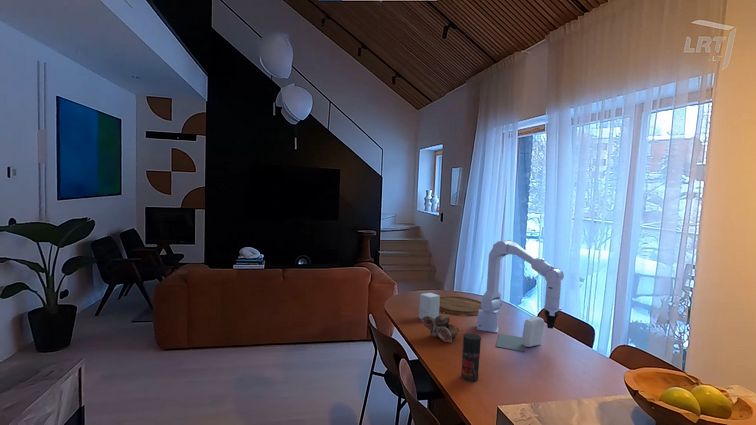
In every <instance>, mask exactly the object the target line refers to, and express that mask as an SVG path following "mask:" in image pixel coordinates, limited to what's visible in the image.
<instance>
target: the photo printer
mask: <svg viewBox="0 0 756 425" xmlns="http://www.w3.org/2000/svg"><path fill="white" fill-rule="evenodd" d="M544 328H545V320H544V319H543V318H542V317H540V316H532V317H529V318H527V319H525V320H524V323H523V328H522V329H523V330H522V336H521V337H522V345H524V346H525V348H526V347H527V348H528V347H529V348H530V347H535V346H536V347H537V346H539V345H542V341H543V334H544Z"/></svg>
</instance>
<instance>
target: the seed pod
mask: <svg viewBox="0 0 756 425" xmlns="http://www.w3.org/2000/svg"><path fill="white" fill-rule="evenodd" d="M420 320H421V322H422V324H423V326H424V327H425V328H426V329H428V330H429V333H430V335H431V336H432V337H434V338H438V337H439V339H441V340H442V341H443V342H444V343H450V344H452V342H453V339H454V338H456V337H457V336H458V333H459V331H460V329H459V328H458V326H456V325H453V324H450V322H451V319H450V316H449V314H447V313H443V314H439V316H437V317H436V318H435V319H434V318H432V317H429V316H426V317H424V318H423V319H420Z"/></svg>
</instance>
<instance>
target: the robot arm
mask: <svg viewBox="0 0 756 425" xmlns="http://www.w3.org/2000/svg"><path fill="white" fill-rule="evenodd" d="M508 255H516V256H517V257H519V258H521V260H523V261H525V262H526V263H528V264H530V265H531V266H530V267H531V269H533V270H534V271H535V272H536V273H538V274H540V275H541V276H542V277H543V278H544V280H545V281H546V284H545V299H544V305H543V309H544V312H543V313H544V315H545V318H546V327H547V329H550V330H551V329H554V325H555V323H556V320H557V318H558V317H559V311H562V310H563V308H562V307H560V300H561V299H560V297H561V289H562V288H561V287H562V284H561V283H562V280H564V272H563V271H562V270H561V269H560V267H555V265H551V264H549V263H548V262H546V259H545V258H540V257H537V258H536V257H534V255H532V254H531V253H529V252H528V251H527V250H525V248H523V247H522V246H520V245H519V244H518V243H516V242H515V241H513V240H512V239H508V240H499V241H497V242H496V243H494V244H492V248H491V250H490V251H489V254H488V260H487V262H488V264H487V275H486V276H487V279H486V291H485V293H484V294H483V295H482V300H480V302H481V308H482V309H483V310H479V312H478V316H477V323H476V324H477V326H476V330H478V331H484V332H490V333H496V334H498V332H499V329H500V327H499V326H498V324H499V312H500V309H501V307H502V305H503V302H502V298H501V293H500V292H499V285H500V270H501V259H503V258H504V257H506V256H508Z"/></svg>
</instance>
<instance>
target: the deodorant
mask: <svg viewBox="0 0 756 425" xmlns="http://www.w3.org/2000/svg"><path fill="white" fill-rule="evenodd" d="M462 338H463V340H462V355H461V373H460V378H461V379H462V380H463V381H465V382H467V383H468V382H469V383H475V382H478V381H479V371H480V357H481V356H480V355H481V354H480V353H481V344H482V343H481V341H482V337H481V336H480V335H479V334H475V333H464V334H463V337H462Z"/></svg>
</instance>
